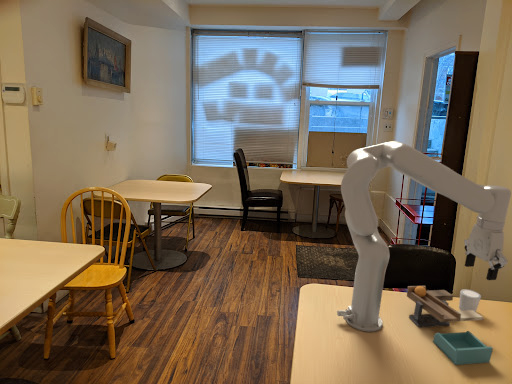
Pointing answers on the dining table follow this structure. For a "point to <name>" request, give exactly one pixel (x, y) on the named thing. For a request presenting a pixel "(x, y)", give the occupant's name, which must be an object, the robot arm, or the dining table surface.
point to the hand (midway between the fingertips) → (479, 272)
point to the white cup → (469, 300)
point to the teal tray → (463, 348)
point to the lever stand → (426, 317)
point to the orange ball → (420, 291)
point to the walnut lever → (441, 306)
